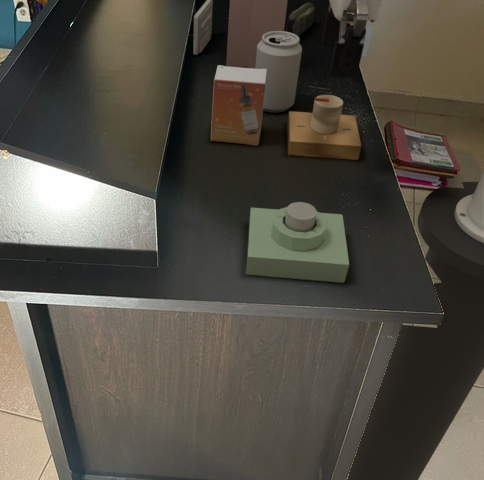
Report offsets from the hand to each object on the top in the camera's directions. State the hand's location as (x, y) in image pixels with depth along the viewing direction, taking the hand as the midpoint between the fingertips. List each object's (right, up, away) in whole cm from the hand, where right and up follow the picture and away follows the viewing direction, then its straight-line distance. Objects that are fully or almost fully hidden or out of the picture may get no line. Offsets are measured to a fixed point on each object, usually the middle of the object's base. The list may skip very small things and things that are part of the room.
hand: (338, 59), depth 73 cm
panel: (+2, -5, +21) cm, 22 cm away
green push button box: (-6, -24, +1) cm, 25 cm away
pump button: (-5, -21, -3) cm, 22 cm away
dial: (+2, -3, +19) cm, 20 cm away
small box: (-11, -4, +22) cm, 25 cm away
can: (-4, +4, +30) cm, 31 cm away
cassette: (-17, +23, +50) cm, 57 cm away
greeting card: (-6, +14, +41) cm, 43 cm away
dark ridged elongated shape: (+5, +28, +56) cm, 63 cm away
